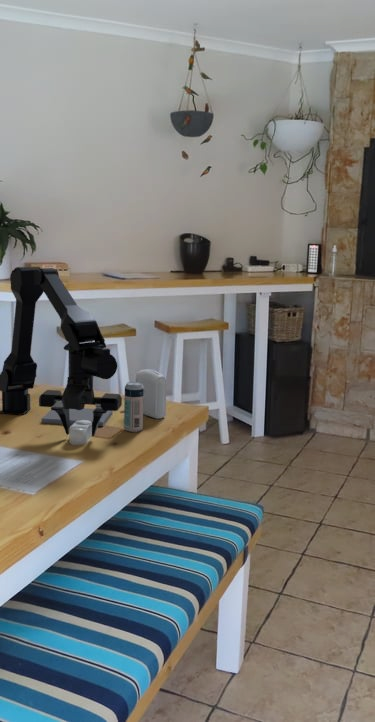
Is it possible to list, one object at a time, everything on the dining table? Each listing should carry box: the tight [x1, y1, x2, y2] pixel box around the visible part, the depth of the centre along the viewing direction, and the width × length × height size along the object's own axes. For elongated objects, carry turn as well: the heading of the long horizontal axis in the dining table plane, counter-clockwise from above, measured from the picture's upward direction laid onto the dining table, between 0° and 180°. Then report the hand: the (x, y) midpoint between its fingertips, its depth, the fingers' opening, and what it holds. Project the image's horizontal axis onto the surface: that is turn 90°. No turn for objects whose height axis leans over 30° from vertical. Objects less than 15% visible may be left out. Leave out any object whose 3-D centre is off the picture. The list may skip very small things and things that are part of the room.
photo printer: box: [135, 368, 167, 420], centre depth 187 cm, size 10×4×12 cm, turn 39°
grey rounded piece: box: [68, 420, 92, 446], centre depth 166 cm, size 4×11×4 cm, turn 174°
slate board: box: [41, 407, 114, 427], centre depth 182 cm, size 16×12×1 cm
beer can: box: [123, 381, 144, 433], centre depth 173 cm, size 5×5×12 cm
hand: (80, 435), depth 165 cm, fingers open, 6 cm apart
